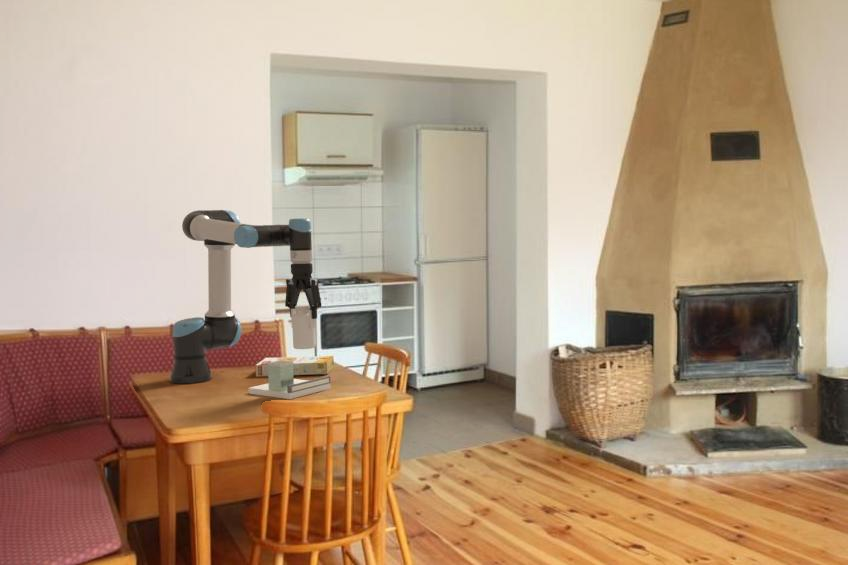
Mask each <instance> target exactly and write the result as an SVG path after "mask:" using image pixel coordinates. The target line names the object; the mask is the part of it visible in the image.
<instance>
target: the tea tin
mask: <svg viewBox="0 0 848 565" xmlns="http://www.w3.org/2000/svg"><path fill="white" fill-rule="evenodd" d="M267 365H268V376H267V378H268V383H269V390H275V391H285V390H287V386H289V385H293V384H294V379H295V378H294V375H293V362H292V361H282V360H280V361H275V362H270V363H267Z"/></svg>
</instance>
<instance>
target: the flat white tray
mask: <svg viewBox="0 0 848 565" xmlns="http://www.w3.org/2000/svg"><path fill="white" fill-rule="evenodd" d="M331 388H332V386H331V376H330V375H327V376H323V377H318V378H315V379H310V380H308V379H298V378H294V384H293V385H289V386H287V390H285V391H275V390H269V383H264V384H260V385H254V386H251V387H248V394H249V395H250V394H251V395H255V396H256V395H257V396H263V397H264V396H265V397H272V398H279V399H285V400H292V399H296V398H300V397H303V396H308V395H312V394H316V393H318V392H324V391H327V390H331Z"/></svg>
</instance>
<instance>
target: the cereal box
mask: <svg viewBox="0 0 848 565" xmlns="http://www.w3.org/2000/svg"><path fill="white" fill-rule="evenodd" d="M280 360H282V361H292V362H293V376H310V375H328V374H329V373H330V372H331V371H332V369H333V368H334V366H335V365H334V362H335V361H334V355H320V356H319V355H318V356H293V357H292V356H291V357H289V356H288V357H286V356H285V357H283V356H282V357H265V358H264V359H262V360H261V361H259V362H258V363H257V364H255V367H254V368H255V377H256V378H257V377H268V365H267V363H270V362H275V361H280Z"/></svg>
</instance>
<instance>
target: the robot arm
mask: <svg viewBox="0 0 848 565" xmlns="http://www.w3.org/2000/svg"><path fill="white" fill-rule="evenodd" d="M311 225H312V223H311V220H310V219H309V218H303V217H302V218H290V219H289V221H288V224H268V225H267V224H263V225H255V224H253V225H252V224H247V223H241V221H240V218H239V217H238V216H237V214H236V213H235V212H233V211H231V210H225V209H224V210H223V209H211V210H208V209H207V210H206V209H205V210H204V209H203V210H199V209H198V210H194V211H192V212H189V213H188V214H187V215H186V216H185V217H184V218H183V220H182V226H181V227H182V231H183V234H184V235H185V236H186V238H188V239H190V240H191V241H196V242H198V241H199V242H204V243H203V245H204V246H205V247H206V248H207V251H208V252H207V253H208V255H207V258H208V261H207V263H208V265H207V267H208V270H207V271H208V272H207V273H208V274H207V275H208V277H207V278H208V293H207V294H208V310H207V311H206V313H204V318H203V317H201V316H199V317H197V316H196V317H191V318H190V317H189V318H185V319H181V320H178V321H175V323H174V324H173V325H172V338H173V339H172V340H173V357H174V362H173V364H172V365H173V366H172V368H171V369H172V370H171V374H170V376H169V377H170V383H172V384H195V383H196V384H197V383H202V382H203V383H204V382H207V381H210V380H212V371H211V369H210V366H209V364H208V361H207V358H206V357H207V356H206V355H207V354H206V351H210V350H211V351H212V350H216V349H227V348H229V347H230V348H231V347H233V346H236V345H237V343H238V342H239V341H240V339H241V337H242V336H241V335H242V324H241V323H240V322H241V321H240V320H239V319H238V318H237V317H236V313H235V312H234V311H233V310H232V256H231V255H232V248H233V247H235V246H236V245H237V247H239V248H244V249H245V248H246V249H251V248H262V247H263V248H265V247H289V254H290V255H289V256H290V263H291V264H290V274H291V275H292V277H291V278H286V279H285V283H286V288H285V289H286V291H285V292H286V293H285V303H284V305H285V307H287V308H288V309H289V316H290V319H291V323H292V316H293V315H294V314H295V313H296V310H295V306H297V305H298V302H299V297H300V294H301V292H302V291H303V292H304V293H305V294H304V295H305V297H306V300H307V303H308V305H309V306H310V309H309V329H312V328H315V329H317V320H318V309H319V308H322V302H321V301H322V300H321V295H320V293H321V292H320V288H319V283H320V281H319V279H318V278H317V279H315V278H313V277H312V274H313V273H314V272H313V270H314V269H313V263H312V262H313V252H312V248H313V247H312V246H313V245H312V226H311Z"/></svg>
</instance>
